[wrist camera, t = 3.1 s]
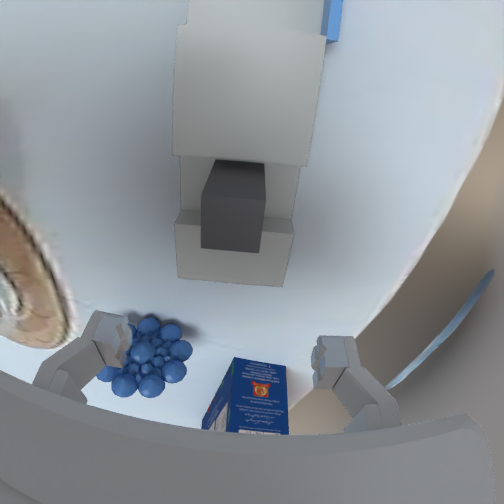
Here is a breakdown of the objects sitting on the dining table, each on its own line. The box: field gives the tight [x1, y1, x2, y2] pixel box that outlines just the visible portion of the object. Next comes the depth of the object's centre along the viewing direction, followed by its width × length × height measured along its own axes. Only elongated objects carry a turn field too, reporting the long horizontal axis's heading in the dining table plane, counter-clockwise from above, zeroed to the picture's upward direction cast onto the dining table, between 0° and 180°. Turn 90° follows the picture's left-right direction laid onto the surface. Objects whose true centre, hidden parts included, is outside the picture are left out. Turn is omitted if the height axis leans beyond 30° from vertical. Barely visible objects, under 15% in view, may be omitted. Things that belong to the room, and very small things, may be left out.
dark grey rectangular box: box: [201, 159, 266, 253], centre depth 22 cm, size 4×4×7 cm
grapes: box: [96, 318, 193, 398], centre depth 33 cm, size 12×7×12 cm, turn 77°
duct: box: [172, 0, 343, 287], centre depth 20 cm, size 11×34×4 cm, turn 175°
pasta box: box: [201, 357, 289, 435], centre depth 39 cm, size 28×8×28 cm, turn 163°
